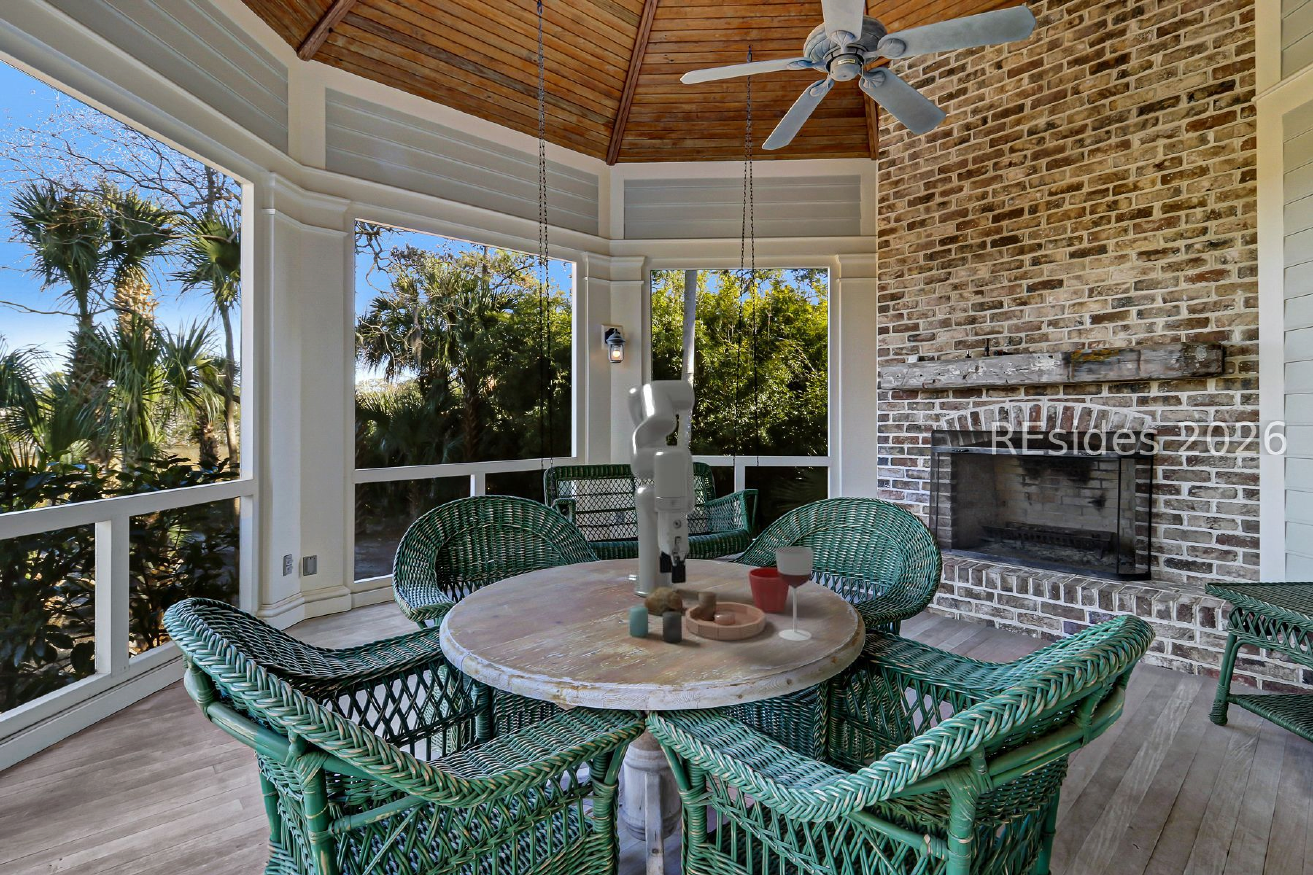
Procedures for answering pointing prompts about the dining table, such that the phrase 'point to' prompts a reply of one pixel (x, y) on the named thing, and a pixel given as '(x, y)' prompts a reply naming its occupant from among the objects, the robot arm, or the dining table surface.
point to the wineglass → (794, 580)
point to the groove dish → (727, 622)
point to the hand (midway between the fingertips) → (672, 577)
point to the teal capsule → (638, 621)
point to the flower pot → (768, 590)
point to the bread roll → (663, 601)
